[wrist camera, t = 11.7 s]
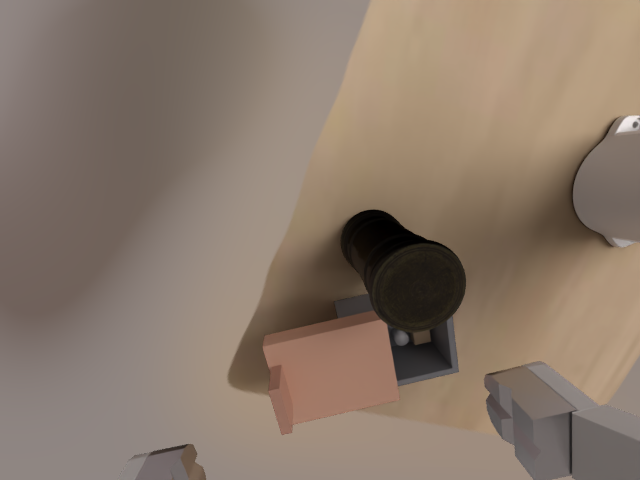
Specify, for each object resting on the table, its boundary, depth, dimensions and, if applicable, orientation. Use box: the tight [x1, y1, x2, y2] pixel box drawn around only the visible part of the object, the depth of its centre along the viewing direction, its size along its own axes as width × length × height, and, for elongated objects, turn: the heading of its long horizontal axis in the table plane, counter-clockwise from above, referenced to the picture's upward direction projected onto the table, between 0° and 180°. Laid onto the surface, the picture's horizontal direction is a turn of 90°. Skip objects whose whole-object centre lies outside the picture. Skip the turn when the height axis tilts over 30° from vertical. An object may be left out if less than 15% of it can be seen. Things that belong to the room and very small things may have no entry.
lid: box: [262, 310, 400, 435], centre depth 36 cm, size 15×12×6 cm
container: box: [341, 210, 466, 332], centre depth 34 cm, size 9×9×18 cm
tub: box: [334, 294, 459, 386], centre depth 42 cm, size 14×10×8 cm
